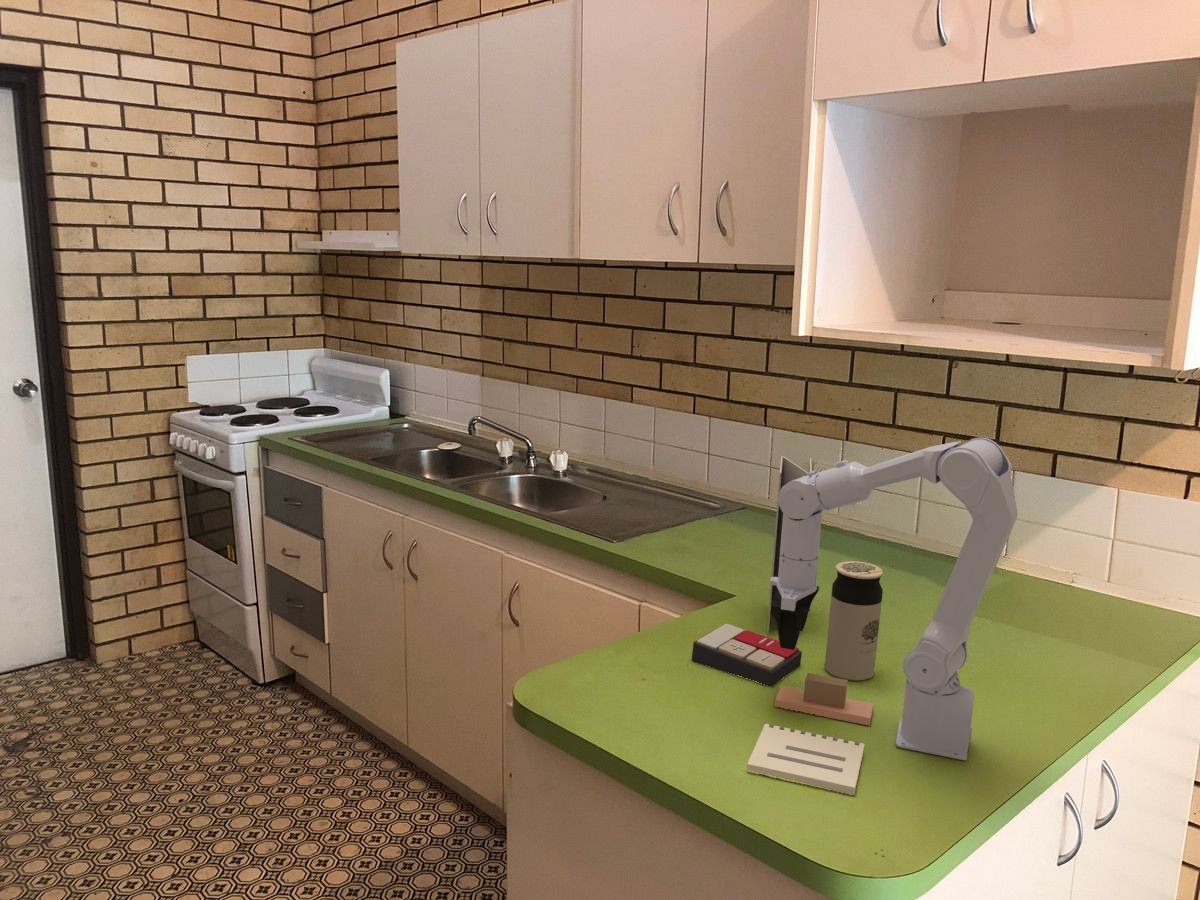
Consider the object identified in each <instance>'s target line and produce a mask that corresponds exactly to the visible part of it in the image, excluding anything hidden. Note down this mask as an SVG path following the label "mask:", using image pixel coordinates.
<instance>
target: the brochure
mask: <svg viewBox="0 0 1200 900" xmlns="http://www.w3.org/2000/svg"><path fill="white" fill-rule="evenodd" d="M808 463H809V465H808V472H807V470H805V469H803V468H802V467H800V466H799V465H798V464H796V463H795V462H793V461H791V460H790V459H789V458H787V457H785V456H784V455H781V457H780V466H779V477H778V489H777V496H778V495H779V492H780V490H781V488H782V487H783V486H784V485H785V484H787V483H788V482H790V481H792V480H796V479H798V478H801V477H803V476H807V475H808V473H809V472H811V471H813V470H812V469H813V466H812V457H810V458H809V462H808ZM775 514H776V515H775V517H776V518H775V525H774V526H775V527H774V540H773V554H772V563H771V564H772V567H771V576H770V578H771V577H778V572H779V560H780V547H781V534H782V524H783V512H782V510H781V508H780V506H779V503H778V499H777V502H776V513H775ZM773 600H774V601H780V602H781V600H782V596H781V594H780V592H779V590H778V588H777V586H775V585H771V584H770V590H769V604H768V615H767V629H766V635H769V631H770V623H771V622H770V621H771V613H772V611H771V603H772V601H773Z"/></svg>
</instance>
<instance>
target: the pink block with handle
mask: <svg viewBox="0 0 1200 900" xmlns="http://www.w3.org/2000/svg"><path fill="white" fill-rule="evenodd" d="M804 680H805V681H804V690H803V689H799V688H793V687H788V686H782V685H781V686H780V689H779V690H778V693H777V695H776V698H775V702H774V708H778V707H781V708H780V709H783V708H784V709H783V710H788V709H790V710H789V711H793V710H795V712H798V711H801V712H800V713H803V712H804V713H805V714H808V713H809V715H813V714H815V715H814V716H819V717H823V716H824V717H825V718H829V719H833V720H839V721H843V722H844V721H845V722H848V723H849V722H850V723H855V724H859V725H865V726H870V725H871V720H872V717H873V711H874V703H872V702H867V701H863V700H862V701H861V700H858V699H857V700H856V699H851V698H847V691H848V681H849V680H846V679H842V678H838V677H833V676H827V675H821V674H817V673H816V674H815V673H811V672H807V674H806V676H805V679H804ZM804 713H803V714H804Z"/></svg>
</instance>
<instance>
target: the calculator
mask: <svg viewBox="0 0 1200 900" xmlns="http://www.w3.org/2000/svg"><path fill="white" fill-rule="evenodd" d="M799 649H800V648H799V647H797V646H795V649H794V650H791V649H785V648H781V646H780V642H779V640H777V639H774V638H771V637H768V636H765V635H764V634H761V633H758V632H755V631H752V630H750V629H746V630H745V629H743V628H740V627H738V626H735V625H732V624H729V623H724V624H722V625H721V626H719V627H717V628H716V629H714V630H712V631H710V632H708V633H707V634H705V635H703V636H702V637H700V638H699V639H697V640H695V641H694V642H693V644H692V651H691V653H692V654H691V662H693V661H694V663H696V662H697V664H699V665H702V664H703V666H705V665H707V666H706V667H708V666H710V667H709V668H711V667H714V668H715V669H718V670H720V671H723V672H725V671H726V672H725V673H728V672H729V673H728V674H730V673H732V674H731V675H733V674H735V675H734V676H736V675H739V676H742V677H744V678H748V679H751V680H754V681H757V682H759V683H762V684H765V685H764V686H766V685H768V686H767V687H769V686H772V687H774V686H775V685H777V684H778V683H779V682H780V681H782V680H783V679H784V678H785V676H786V675H787V676H789V673H790V674H791V673H792V672H794V671H795V670H796V669H798V668H799V667H800V666H801V661H802V657H803V655H802V654H803V652H802V650H799ZM714 668H713V669H714ZM739 676H738V677H739ZM787 676H786V677H787ZM783 677H784V678H783ZM744 678H743V679H744ZM782 678H783V679H782ZM781 679H782V680H781ZM779 680H780V681H779ZM778 681H779V682H778ZM777 682H778V683H777ZM759 683H758V684H759ZM762 684H761V685H762ZM774 684H775V685H774Z"/></svg>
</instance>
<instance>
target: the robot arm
mask: <svg viewBox="0 0 1200 900" xmlns="http://www.w3.org/2000/svg"><path fill="white" fill-rule="evenodd" d="M962 442H963V441H961V440H959V441H952V442H947V443H944V444H942V443H941V444H937V445H933V446H928V447H926V448H922V449H918V450H916V451H914V452H913V451H912V452H910V453H907V454H904V455H901V456H897V457H895V458H892V459H890V460H886V461H883V462H880V463H876V464H873V465H872V466H866V465H864V464H862V463H860V462H857V461H851V462H849V461H848V459H845V460H841V461H838V462H836V463H835V465H836V467H832V468H828V469H825V470H822V471H818V470H817V469H815V470H812V471H811V472H809V471H808V475H807V476H803V477H801V478H798V479H796V480H792V481H790V482H788V483H787V484H785V485H784V486H783V487H782V488H781V490H780V492H779V495H778V494H777V500H778V503H779V506H780V508H781V510H782V512H783V524H782V534H781V547H780V560H779V572H778V577H771V576H770V579H769V585H770V586H771V585H775V586H777V588H778V590H779V592H780V594H781V596H782V600H781V602H780V601H774V600H773V601H772V603H771V613H772V615H773V617H774V619H775V622H776V626H777V632H778V633H777V634H778V641H779V642H780V646H781V648H785V649H791V650H794V649H795V647H797V644H798V641H799V636H800V632H803V631H804V629H805V625H806V622H807V618H808V615H809V612H810V611H811V605H812V602H813V600H814V599H815V597H816V595H817V594H818V593H819V590H820V586H819V585H818V583H817V574H818V563H819V553H820V540H821V530H822V519H823V518H822V517H823V511H829V510H833V509H837V508H841V507H845V506H849V505H851V504H855V503H859V502H863V501H866V500H867V499H869V497H870V496H871V494H872V492H873V490H874V489H876V488H879V487H880V488H881V487H883V486H888V485H892V484H896V483H900V482H905V481H908V480H911V479H912V480H913V479H917V478H923V479H925V480H927V481H929V482H930V483H933V484H934V485H935V484H938V483H940V482H941V483H942V485H943V486H944V487H945V488H946V489H947V490H948V491H949V492H950V494H952V495H953V496H955V497H956V498H957V499H958V500H959V501H960V502H961V503H962V504H963V505H964V507H965V508H966V510H967V512H968V513H969V515H970V517H971V518H972V522H971V525H970V528H969V530H968V532H967V534H966V537H965V539H964V543H963V545H962V546H961V548H960V552H959V553H958V557H957V559H956V561H955V564H954V566H953V569H952V570H951V572H950V575H949V578H948V580H947V582H946V585H945V588H944V590H943V593H942V595H941V597H940V600H939V602H938V604H937V606H936V609H935V611H934V614H933V616H932V618H931V621H930V622H929V624H928V626H927V627H926V628H925V630H924V631H923V633H922V635H921V637H920V639H919V641H918V643H917V645H916V646H915V647H914V648H912V649H911V650H910V651H908V652H907V653H906V655H905V657H904V658H903V662H902V669H903V673H904V676H905V678H906V681H905V687H904V696H903V698H904V699H903V706H902V715H901V716H902V717H901V719H900V720H899V721H898V726H897V732H896V740H895V746H896V747H898V748H901V749H902V748H903V749H906V750H910V751H916V752H921V753H925V754H931V755H935V756H936V755H937V756H941V757H946V758H951V759H955V760H960V761H967V759H968V750H969V743H970V742H971V741H972V734H973V733H972V732H973V728H972V720H973V710H974V701H975V700H974V698H975V690H974V689H972V688H968V687H965V686H963V685H961V681H960V676H959V674H958V671H959V670H961V668H963V667H964V665H965V664H966V662H967V659H968V647H967V646H968V640H969V637H970V636H971V635H970V634H971V630H970V628H971V625H972V623H973V620H974V618H975V615H976V613H977V610H978V608H979V606H980V604H981V602H982V599H983V597H984V595H985V593H986V590H987V588H988V586H989V583H990V581H991V578H992V577H993V574H994V573H995V572H994V571H995V569H996V567H997V564H998V562H999V560H1000V558H1001V555H1002V553H1003V551H1004V549H1005V546H1006V544H1007V541H1008V539H1009V537H1010V535H1011V532H1012V530H1013V527H1014V525H1015V523H1016V521H1017V518H1018V507H1017V501H1016V497H1015V491H1014V490H1015V489H1014V487H1013V486H1014V485H1013V480H1012V468H1013V465H1012V463H1011V461H1010V459H1009V458H1008V457H1007V455H1006V453H1005V452H1004V450H1003V449H1002V447H1001V446H1000V445H999V444H998V443H997V442H995V441H994V440H992V439H990V438H987V437H974V438H971V439H969V440H967V441H966V442H964V443H963V444H961V443H962ZM960 444H961V445H960Z"/></svg>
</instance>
